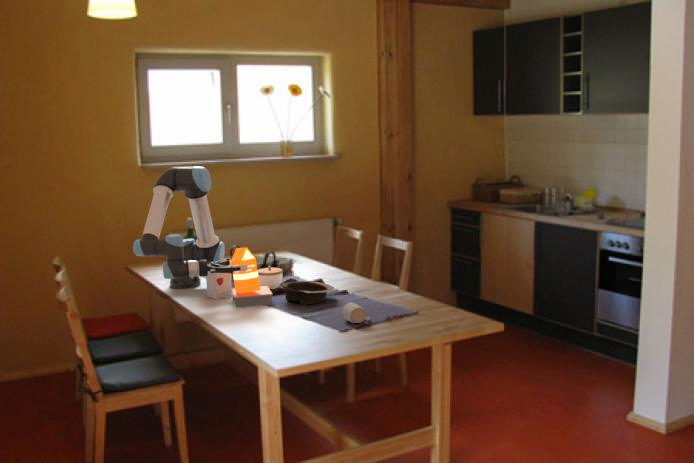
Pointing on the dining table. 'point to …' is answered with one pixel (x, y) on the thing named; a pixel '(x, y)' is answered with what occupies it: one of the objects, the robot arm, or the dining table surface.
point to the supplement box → (219, 285)
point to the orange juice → (245, 279)
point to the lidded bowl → (270, 277)
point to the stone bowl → (305, 291)
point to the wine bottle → (190, 230)
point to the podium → (252, 297)
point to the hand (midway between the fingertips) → (245, 264)
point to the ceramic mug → (354, 313)
